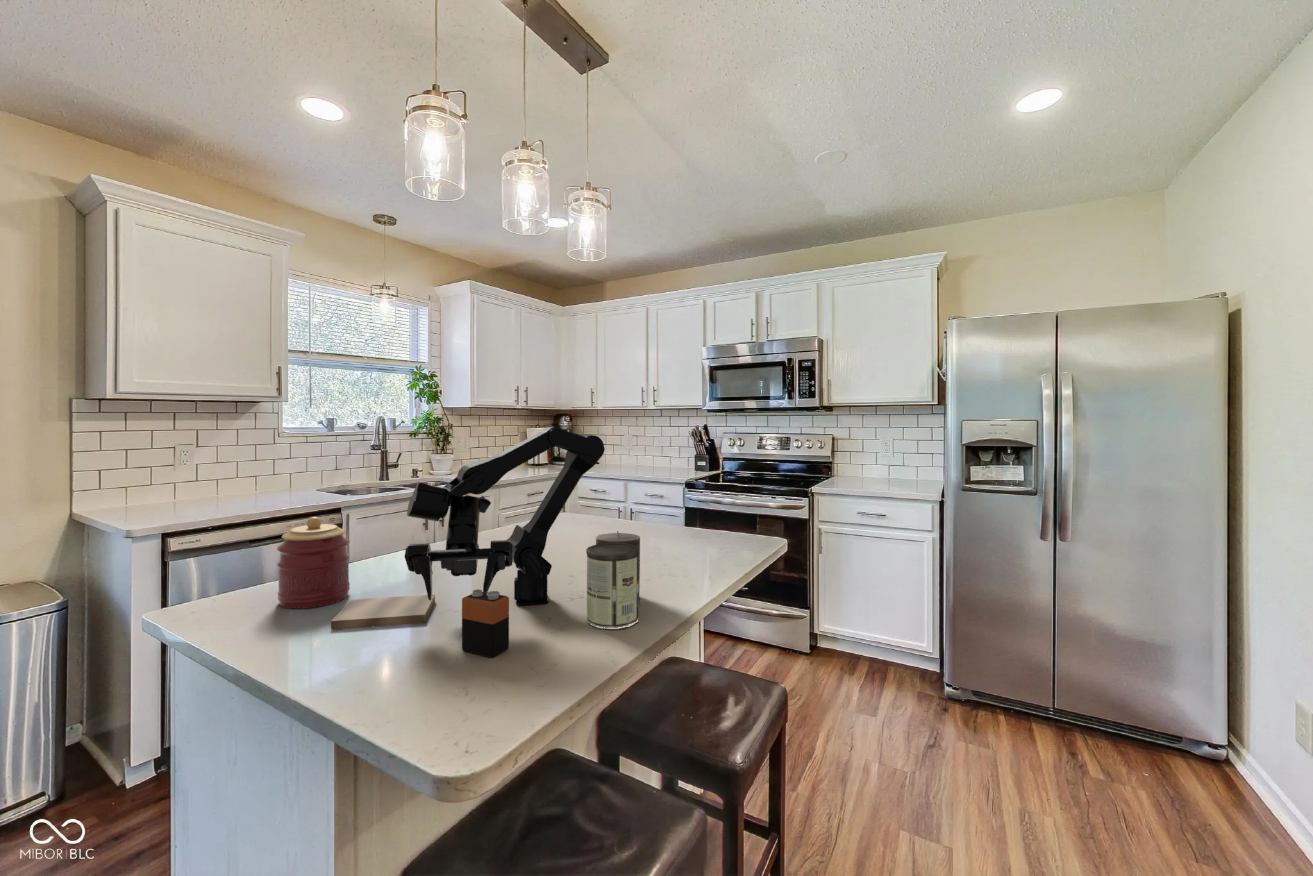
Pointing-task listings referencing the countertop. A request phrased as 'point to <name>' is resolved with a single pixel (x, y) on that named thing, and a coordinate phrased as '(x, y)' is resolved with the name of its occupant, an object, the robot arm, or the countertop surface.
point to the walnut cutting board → (383, 612)
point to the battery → (485, 623)
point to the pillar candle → (620, 541)
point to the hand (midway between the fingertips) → (457, 597)
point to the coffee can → (612, 584)
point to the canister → (313, 565)
